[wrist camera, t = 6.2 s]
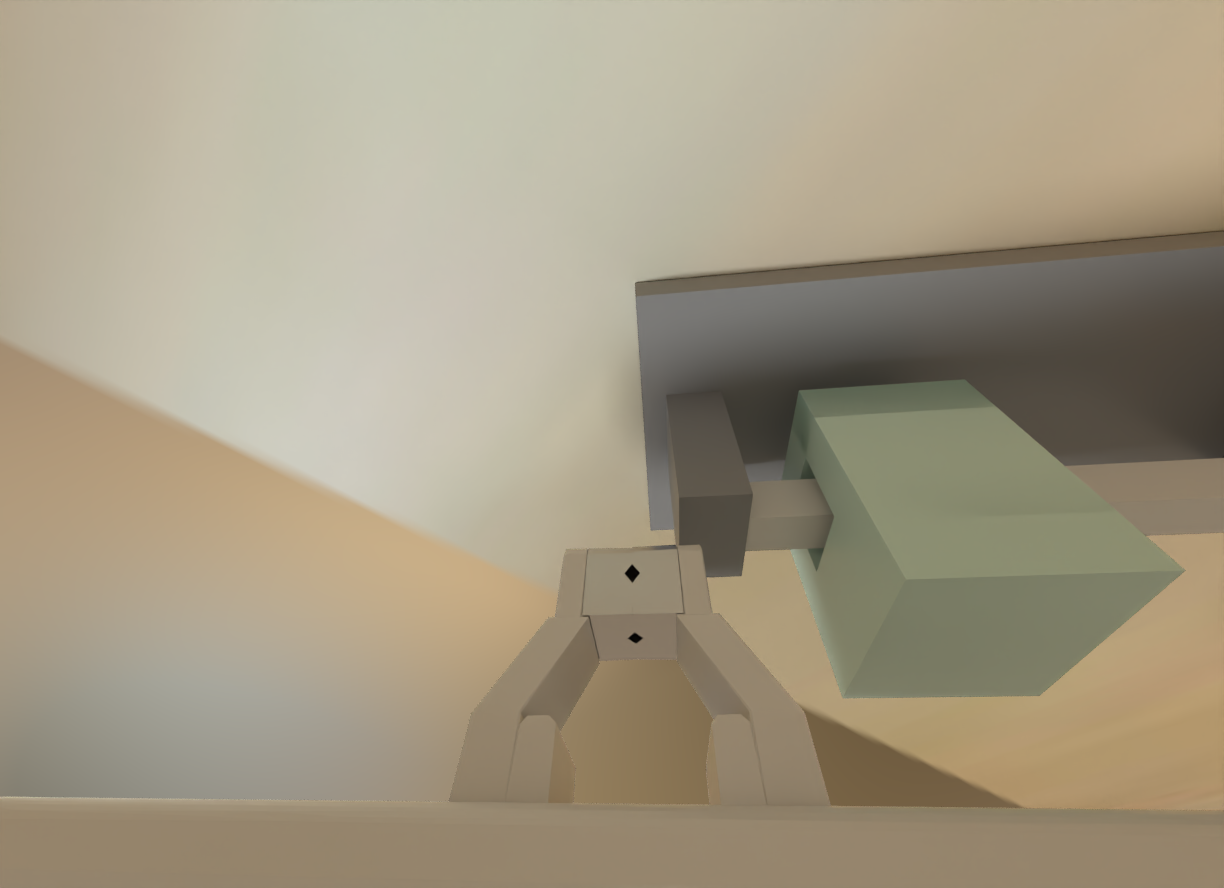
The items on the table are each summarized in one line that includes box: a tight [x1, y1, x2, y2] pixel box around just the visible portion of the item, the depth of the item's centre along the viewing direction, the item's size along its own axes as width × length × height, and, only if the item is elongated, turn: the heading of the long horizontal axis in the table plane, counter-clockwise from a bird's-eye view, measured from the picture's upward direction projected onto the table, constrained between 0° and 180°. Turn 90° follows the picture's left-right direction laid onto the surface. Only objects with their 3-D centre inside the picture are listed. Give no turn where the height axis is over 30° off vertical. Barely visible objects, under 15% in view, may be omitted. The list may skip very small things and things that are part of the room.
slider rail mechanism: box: [635, 231, 1224, 577], centre depth 11 cm, size 9×22×7 cm, turn 96°
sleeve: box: [782, 379, 1186, 698], centre depth 10 cm, size 4×4×6 cm
